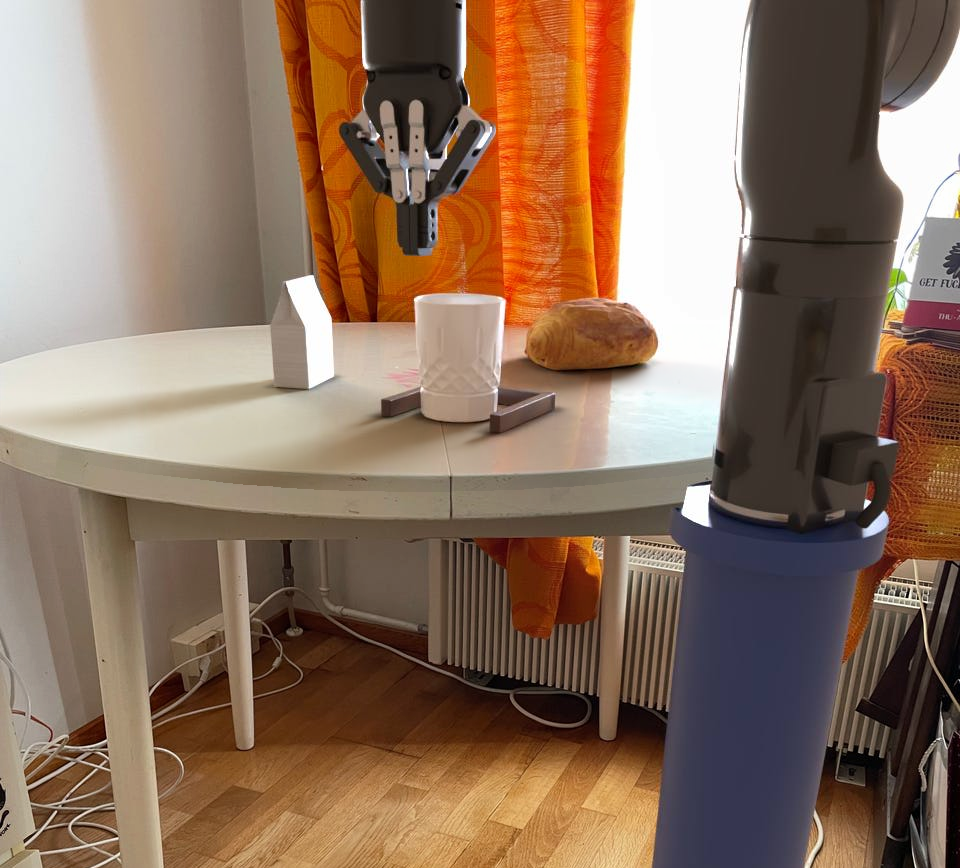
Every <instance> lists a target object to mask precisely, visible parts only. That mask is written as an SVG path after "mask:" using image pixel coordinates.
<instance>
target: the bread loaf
mask: <svg viewBox="0 0 960 868" xmlns="http://www.w3.org/2000/svg"><path fill="white" fill-rule="evenodd" d="M658 337H659V336H658V334H657V331H656V328H655V327H654V325H653V324H652V323H651V321H650V320H649V319H648V318H647V317H646V316H645V315H643V314H642V312H641V311H640V310H639V309H638V308H637V307H636V305H633V304H630V303H627V302H623V301H618V300H613V299H610V298H604V297H586V298H579V299H570V300H566V301H562V302H559V303H555V304H551V306H550V307H549V308H548V309H546V310H545V311H543V312H542V313H541V314H540V315H538V316H536V317H535V319H534V320H533V322H532V323H531V325H530V327H529V329H528V331H527V334H526V338H525V339H526V340H525V349H524V351H523V352H524V354H525V355H526V356H527V359H528V360H530V361H532V362H533V363H536V364H537V365H540V366H541V367H543V368H544V367H545V368H546V369H550V370H553V371H567V370H568V371H570V370H593V369H596V370H597V369H608V368H609V369H610V368H617V367H625V366H632V365H636V364H644V363H646V362H649V361H650V360H651V359H652V358H654V356H655V354H656V353H657V351H658V348H659V339H658Z"/></svg>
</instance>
